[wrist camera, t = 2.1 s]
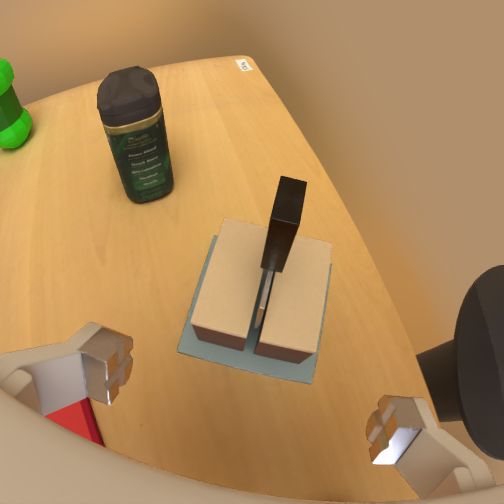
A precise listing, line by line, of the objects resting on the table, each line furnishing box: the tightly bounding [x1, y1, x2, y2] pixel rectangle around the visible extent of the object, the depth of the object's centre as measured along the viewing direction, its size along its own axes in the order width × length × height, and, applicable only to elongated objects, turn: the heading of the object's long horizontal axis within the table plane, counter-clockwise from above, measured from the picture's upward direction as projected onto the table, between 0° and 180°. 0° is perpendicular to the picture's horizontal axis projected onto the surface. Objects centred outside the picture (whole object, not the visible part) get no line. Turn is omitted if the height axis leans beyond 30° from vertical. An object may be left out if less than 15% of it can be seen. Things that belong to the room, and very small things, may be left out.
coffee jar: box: [97, 66, 173, 202], centre depth 39 cm, size 10×8×19 cm
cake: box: [177, 217, 332, 384], centre depth 35 cm, size 16×16×9 cm
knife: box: [254, 176, 307, 329], centre depth 26 cm, size 10×2×13 cm, turn 167°
